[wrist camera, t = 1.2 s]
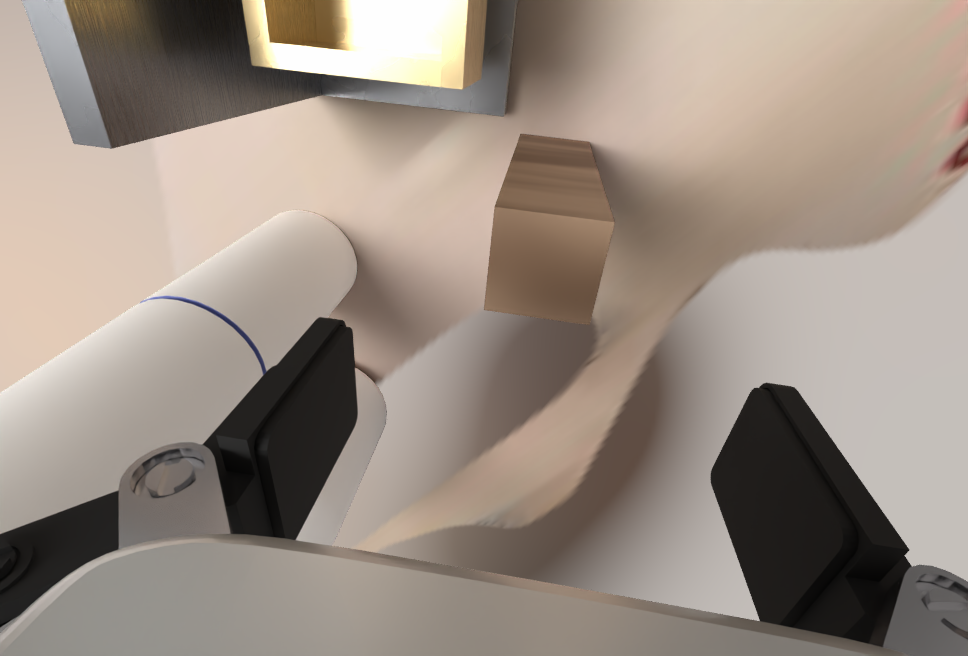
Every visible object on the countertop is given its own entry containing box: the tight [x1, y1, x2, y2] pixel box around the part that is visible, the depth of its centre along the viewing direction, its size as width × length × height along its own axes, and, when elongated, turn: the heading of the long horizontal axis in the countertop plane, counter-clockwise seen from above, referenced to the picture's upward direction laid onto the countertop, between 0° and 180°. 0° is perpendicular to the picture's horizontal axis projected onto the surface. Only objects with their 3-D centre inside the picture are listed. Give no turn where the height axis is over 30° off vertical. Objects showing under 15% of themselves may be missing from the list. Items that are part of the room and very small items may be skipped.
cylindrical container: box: [0, 210, 357, 534], centre depth 23 cm, size 7×7×25 cm
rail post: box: [484, 134, 615, 325], centre depth 23 cm, size 4×4×14 cm
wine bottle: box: [296, 368, 387, 546], centre depth 28 cm, size 10×10×30 cm
